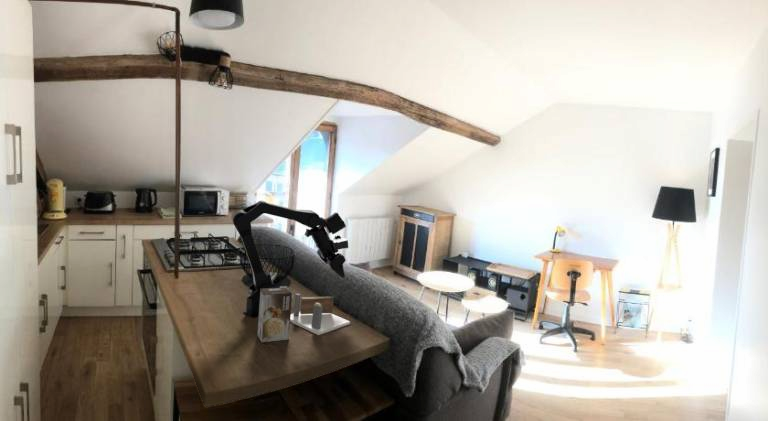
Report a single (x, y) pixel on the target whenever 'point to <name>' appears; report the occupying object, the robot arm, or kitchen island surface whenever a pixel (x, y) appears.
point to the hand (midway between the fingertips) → (339, 273)
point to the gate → (309, 302)
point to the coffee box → (274, 314)
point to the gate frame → (316, 319)
